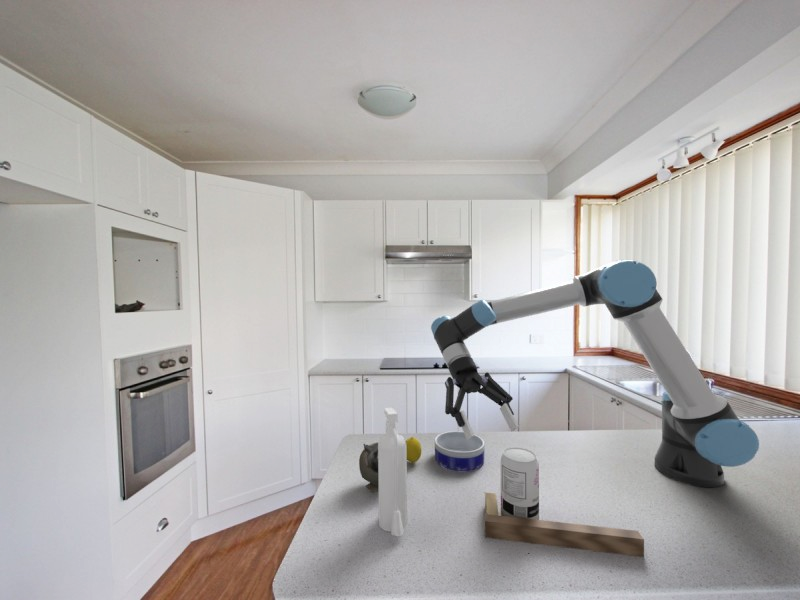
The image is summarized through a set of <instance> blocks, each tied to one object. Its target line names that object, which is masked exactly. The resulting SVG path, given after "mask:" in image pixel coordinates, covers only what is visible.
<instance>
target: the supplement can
mask: <svg viewBox="0 0 800 600" xmlns="http://www.w3.org/2000/svg"><path fill="white" fill-rule="evenodd" d="M500 456H501V457H500V516H508V517H517V518H526V519H535V520H540V463H539V462H540V461H538V459H537V455H536V454H535V453H534V452H532V451H531V450H529V449H527V448H522V447H509V448H506V449H504V450H503V453H502V455H500Z"/></svg>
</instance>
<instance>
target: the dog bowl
mask: <svg viewBox="0 0 800 600" xmlns="http://www.w3.org/2000/svg"><path fill="white" fill-rule="evenodd" d="M474 435H475V436H474V437H473V438H472V439H471V440H470V441H467V439H466V436H465V434H464V432H463V430H462V431H460V430H451V431H450V430H449V431H446V432H445V431H444V432H442V433H439V434H438V435H436V436H435V438H434V457H435V459H434V460H435V462H436V463H437V464H438V465H439V466H440V467H442V468H443V469H447V470H449V471H453V472H461V473H462V472H463V473H465V472H473V471H477V470H479V469H481V468H482V467H483V466H484V464H485V447H486V446H485V445H486V443H485V441H484V439H483V438H482V437H480V436H478V435H477V434H475V433H474Z"/></svg>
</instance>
